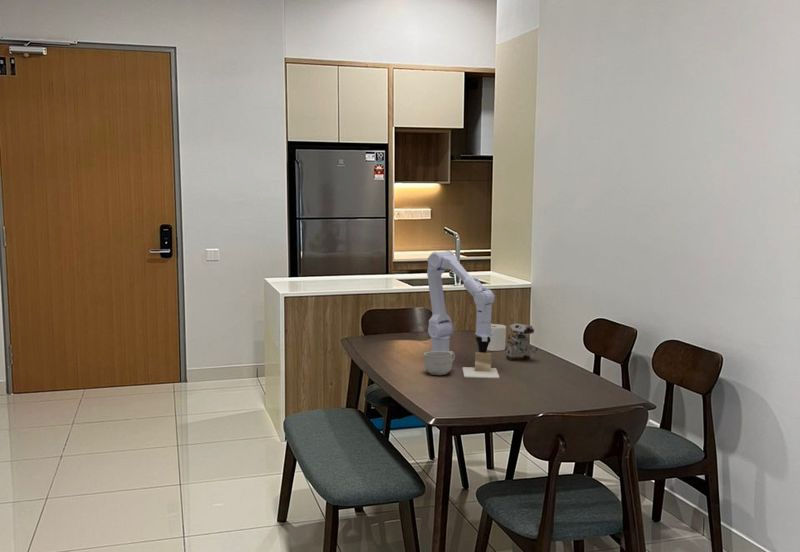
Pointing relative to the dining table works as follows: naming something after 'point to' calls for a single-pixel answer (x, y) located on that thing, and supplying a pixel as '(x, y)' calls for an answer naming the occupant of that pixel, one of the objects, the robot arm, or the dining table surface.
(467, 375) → the mat
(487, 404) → the dining table surface
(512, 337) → the figurine
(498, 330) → the toilet tissue
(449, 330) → the robot arm
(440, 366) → the teacup
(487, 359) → the wooden block
